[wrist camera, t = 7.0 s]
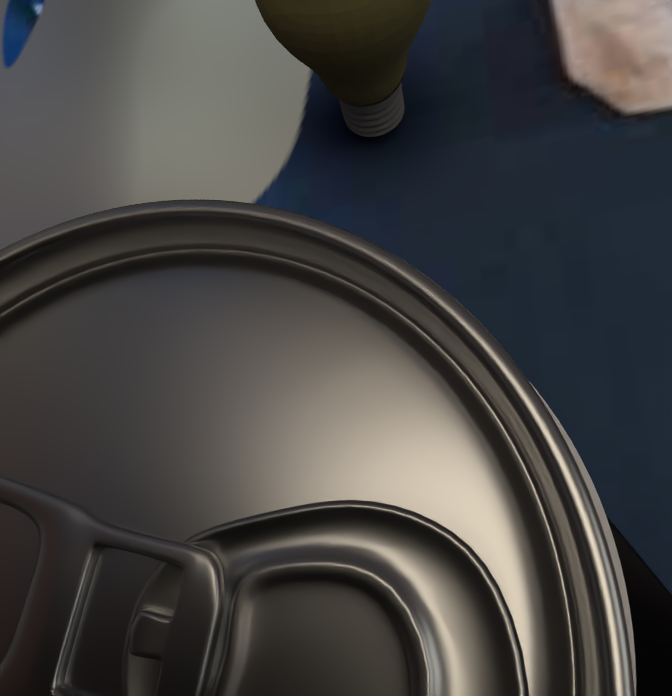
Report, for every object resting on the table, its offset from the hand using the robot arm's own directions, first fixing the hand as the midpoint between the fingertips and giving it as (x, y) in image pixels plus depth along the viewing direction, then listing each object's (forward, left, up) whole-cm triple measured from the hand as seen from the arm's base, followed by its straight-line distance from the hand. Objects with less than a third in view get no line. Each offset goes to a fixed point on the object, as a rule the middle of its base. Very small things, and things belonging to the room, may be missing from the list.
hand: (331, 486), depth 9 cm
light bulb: (+15, +2, -12) cm, 19 cm away
